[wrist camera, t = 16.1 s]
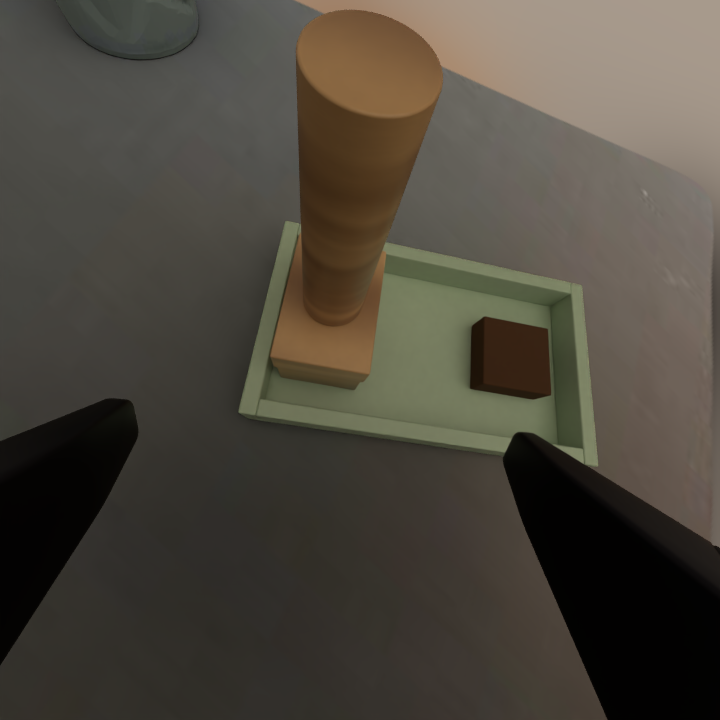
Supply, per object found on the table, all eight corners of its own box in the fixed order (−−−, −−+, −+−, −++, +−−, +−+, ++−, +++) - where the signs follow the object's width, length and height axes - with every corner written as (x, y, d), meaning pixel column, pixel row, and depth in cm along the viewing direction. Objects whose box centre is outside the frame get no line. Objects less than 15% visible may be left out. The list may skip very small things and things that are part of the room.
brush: (356, 392, 17) (482, 234, 5) (277, 379, 17) (192, 165, 4) (371, 291, 19) (489, -11, 7) (301, 276, 18) (288, -76, 6)
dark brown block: (531, 337, 20) (548, 328, 18) (533, 400, 19) (552, 395, 17) (471, 325, 19) (483, 315, 18) (469, 389, 18) (483, 383, 17)
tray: (553, 302, 22) (582, 284, 19) (563, 465, 18) (599, 467, 16) (287, 246, 20) (285, 219, 17) (247, 418, 16) (237, 413, 14)
